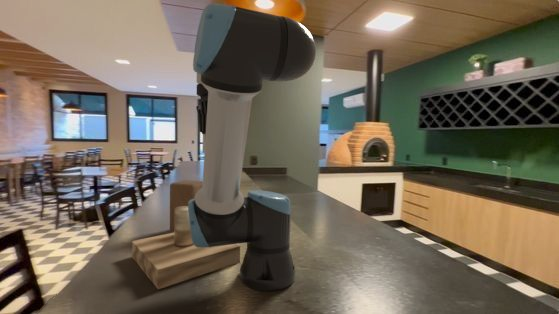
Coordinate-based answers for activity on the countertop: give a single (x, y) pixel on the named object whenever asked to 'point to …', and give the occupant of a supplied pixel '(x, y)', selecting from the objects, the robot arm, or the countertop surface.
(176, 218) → the peg
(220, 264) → the seat board
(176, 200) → the block
